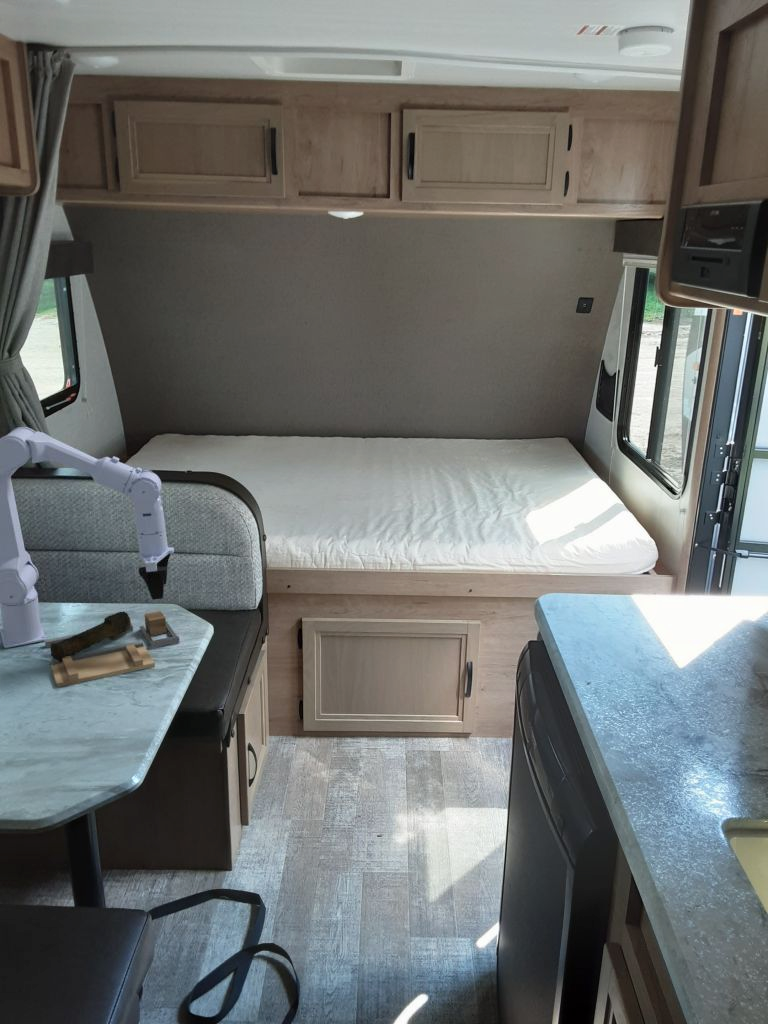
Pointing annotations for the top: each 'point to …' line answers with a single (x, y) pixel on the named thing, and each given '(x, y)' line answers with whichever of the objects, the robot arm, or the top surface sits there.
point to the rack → (101, 665)
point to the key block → (155, 623)
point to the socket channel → (94, 652)
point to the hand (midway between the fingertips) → (159, 591)
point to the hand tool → (92, 636)
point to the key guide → (160, 642)
